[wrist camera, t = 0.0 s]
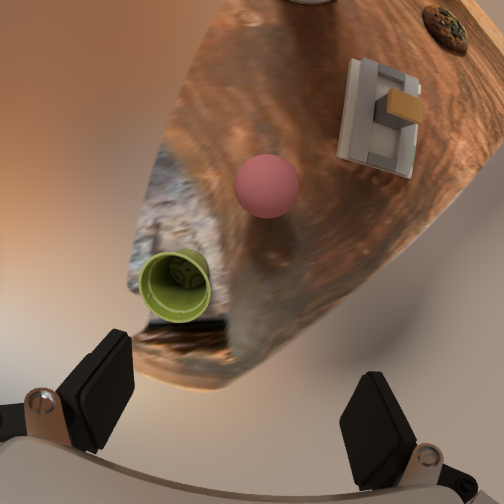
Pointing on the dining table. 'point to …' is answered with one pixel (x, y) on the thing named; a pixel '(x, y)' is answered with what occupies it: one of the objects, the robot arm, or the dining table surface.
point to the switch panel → (368, 132)
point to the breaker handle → (398, 110)
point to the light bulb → (267, 186)
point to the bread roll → (445, 28)
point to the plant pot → (176, 285)
